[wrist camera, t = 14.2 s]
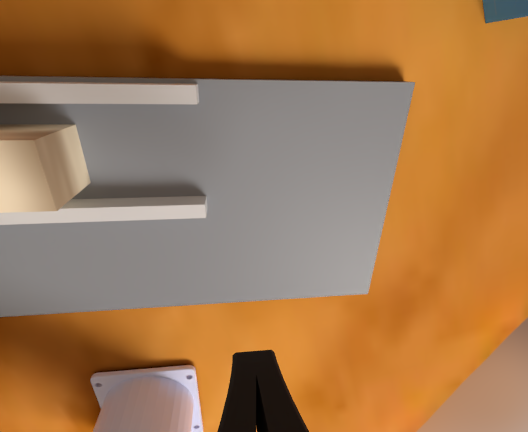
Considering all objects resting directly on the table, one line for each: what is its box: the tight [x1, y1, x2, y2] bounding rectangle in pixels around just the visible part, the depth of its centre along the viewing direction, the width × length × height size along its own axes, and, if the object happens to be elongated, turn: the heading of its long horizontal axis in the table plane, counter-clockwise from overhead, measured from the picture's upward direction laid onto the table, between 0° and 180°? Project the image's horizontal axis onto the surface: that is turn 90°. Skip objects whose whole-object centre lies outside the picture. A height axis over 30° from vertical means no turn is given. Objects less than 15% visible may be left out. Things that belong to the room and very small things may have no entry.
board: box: [0, 76, 415, 317], centre depth 15 cm, size 14×30×6 cm, turn 89°
